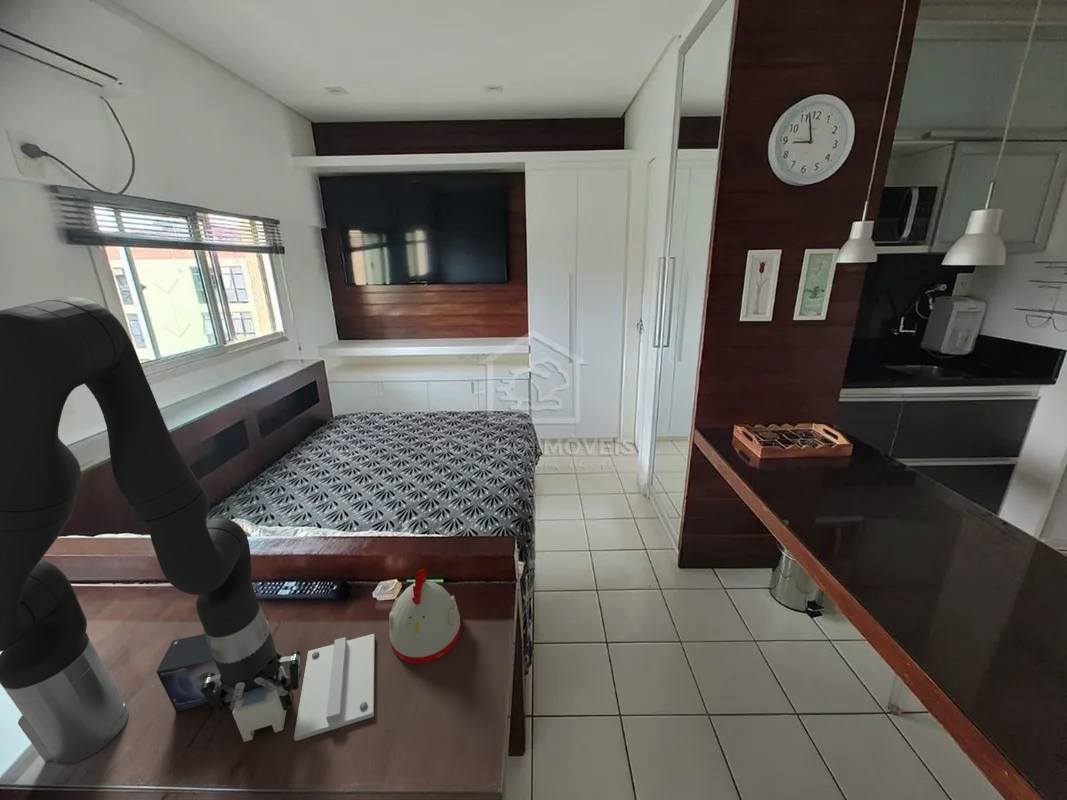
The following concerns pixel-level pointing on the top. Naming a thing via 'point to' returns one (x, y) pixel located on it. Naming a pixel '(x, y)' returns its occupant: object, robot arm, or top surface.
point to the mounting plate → (322, 684)
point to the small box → (187, 672)
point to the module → (259, 711)
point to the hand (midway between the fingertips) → (267, 710)
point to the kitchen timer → (423, 621)
